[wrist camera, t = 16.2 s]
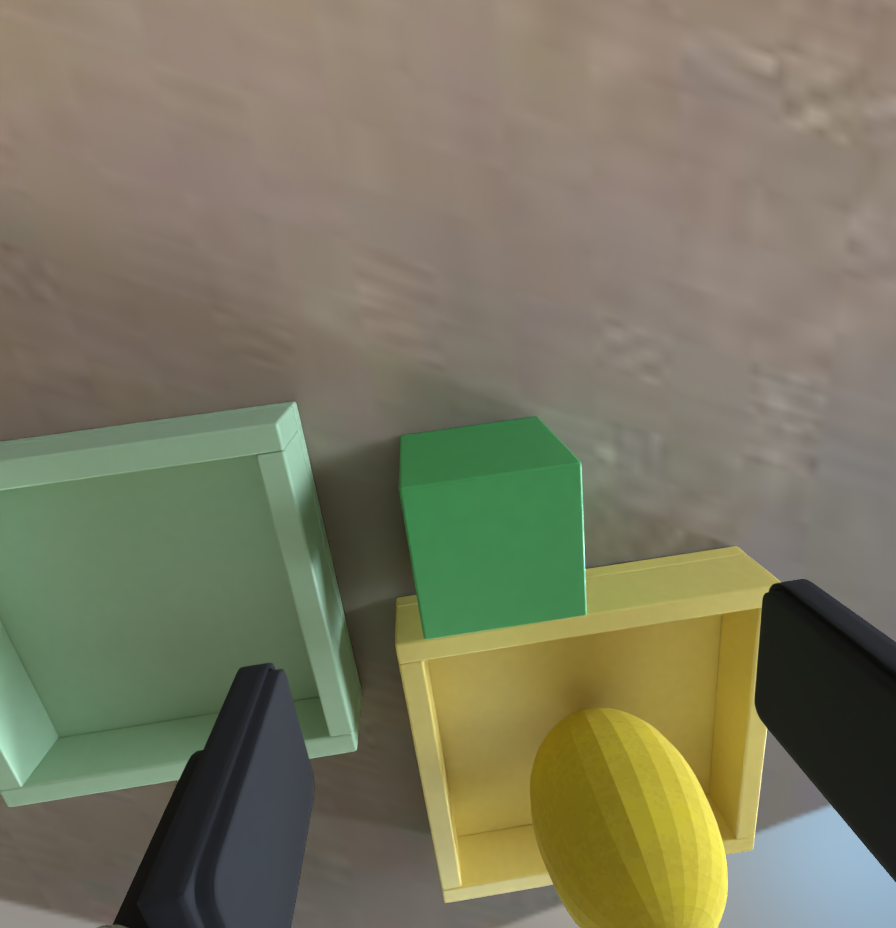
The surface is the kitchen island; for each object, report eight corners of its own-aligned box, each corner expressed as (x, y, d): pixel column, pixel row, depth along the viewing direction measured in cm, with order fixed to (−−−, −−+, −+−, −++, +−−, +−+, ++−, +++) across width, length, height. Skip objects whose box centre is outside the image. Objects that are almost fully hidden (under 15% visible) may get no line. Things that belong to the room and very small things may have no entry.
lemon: (498, 767, 21) (550, 1037, 14) (526, 655, 19) (604, 895, 12) (627, 773, 22) (744, 1033, 14) (665, 665, 20) (822, 898, 13)
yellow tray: (395, 596, 19) (394, 644, 16) (737, 545, 19) (785, 584, 17) (440, 837, 23) (444, 904, 21) (717, 791, 24) (753, 850, 21)
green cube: (399, 434, 17) (398, 488, 13) (537, 415, 17) (582, 461, 13) (418, 557, 18) (423, 641, 14) (545, 538, 18) (588, 616, 14)
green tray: (-91, 453, 16) (-182, 486, 13) (296, 400, 16) (277, 422, 14) (56, 742, 20) (7, 809, 17) (363, 694, 20) (357, 752, 18)
